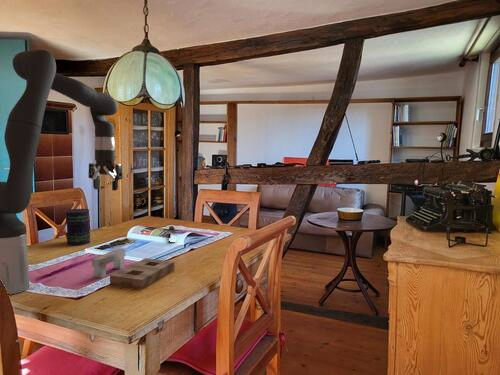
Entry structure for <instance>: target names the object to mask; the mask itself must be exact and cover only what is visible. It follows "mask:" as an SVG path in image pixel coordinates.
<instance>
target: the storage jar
mask: <svg viewBox="0 0 500 375" xmlns="http://www.w3.org/2000/svg"><path fill="white" fill-rule="evenodd" d="M90 218H91V217H90V209H88V208H72V209H67V210H65V224H66V235H65V236H66V241H67V242H66V245H67V246H71V247H79V246H80V247H81V246H86V245H89V244H91V230H90Z"/></svg>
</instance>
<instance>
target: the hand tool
mask: <svg viewBox="0 0 500 375" xmlns="http://www.w3.org/2000/svg"><path fill="white" fill-rule="evenodd" d="M169 231H171V232H175V227H174V225H170V226H169V228H168V232H169ZM175 233H176V232H175Z"/></svg>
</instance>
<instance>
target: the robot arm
mask: <svg viewBox="0 0 500 375" xmlns="http://www.w3.org/2000/svg"><path fill="white" fill-rule="evenodd" d="M12 68H13V70H14V72H15V74H16V75H17V76H18V77H20V78H21V79H23V80H24V81H27V82H26V87H25V89H24V92H23V93H22V95H21V97H20V98H19V99H18V100H17V102H16V103H15V104H14V106H13V107H12V109H11V110H10V112H9V114H8V116H7V117H8V118H7V121H6V127H5V129H4V134H3V136H4V143H5V144H4V145H5V148H6V151H7V154H8V158H9V168H8V169H9V170H8V175H7V178H6V181H0V279H1V280H2V282H3V284H4V285H5V287H6V289H7V292H8V294H9V295H14V294H19V293H22V292H24V291H27V290H28V289H29V288H30V268H29V254H28V237H27V236H28V234H27V232H28V231H27V224H26V223H24V222H23V221H22V220H21V219H20V218H19V217H18V215H17V214H20V213H23V212H24V211H26V209H27V208H28V206H29V205H30V203H31V198H32V193H33V181H34V180H33V178H34V176H33V175H34V167H35V162H36V157H37V151H38V150H37V149H38V146H39V142H40V136H41V132H42V127H43V120H44V115H45V111H46V107H47V103H48V98H49V95H50V91H51V90H52V91H54V92H57V93H59V94H61V95H63V96H66V97H67V98H69V99H71V100H73V101H74V102H77V103H79V104H80V105H82V106H84V107H87V108H89V111H90V115H91V118H92V123H93V125H94V161H95V162H92V163H91V162H90V163H88V176H87V177H88V178H89V179H91V180H92V181H93V182H92V183H93V185H92V186H93V189H94V190H99V189H100V180H99V179H100V177H101V176H103V175H105V176H106V175H107V176H108V177H110V178H111V180H112V181H111V190H112V191H113V192H115V191H117V190H118V189H119V181H120V180H123V178H124V177H123V165H122V164H121V163H115V160H116V144H115V142H116V141H115V127H114V124H113V123H112V122H110V121H107V118H106V116H113V115H116V114H117V113H118V110H119V105H118V104H119V103H118V102H117V101H116V99H115V98H114V97H113V96H111V95H109V94H106V93H103V92H101V91H97V90H95V89H94V88H92V87H90V85H89V86H88V85H87V84H85V83H84V82H82V81H80V80H78V79H75V78H72V77H70V76H67V75H64V74H60V73H58V72H57V64H56V60H55V56H53V54H52V53H51V52H49V51H48V50H45V49H33V50H24V51H20V52H18V53H16V54H15V55H14V56H13V58H12ZM9 295H8V296H9Z"/></svg>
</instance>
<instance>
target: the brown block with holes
mask: <svg viewBox="0 0 500 375" xmlns="http://www.w3.org/2000/svg"><path fill="white" fill-rule="evenodd" d="M173 271H175V261H173V260H162V259H155V258H147V257H145V258H143V259H141V260H139V261H137V262H134V263H133V264H131V265H128V266H126V267H124V268H122V269H119V270H118V271H116V272H114V273H111V274H110V275H109V284H110V285H112V286H118V287H125V288H131V289H139V290H143V289H145V288H147V287H149V286H150V285H151V284H153V283H155V282H156V281H158V280H160V279H162V278H164V276H167V275H169V274H170V273H171V272H173Z"/></svg>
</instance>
